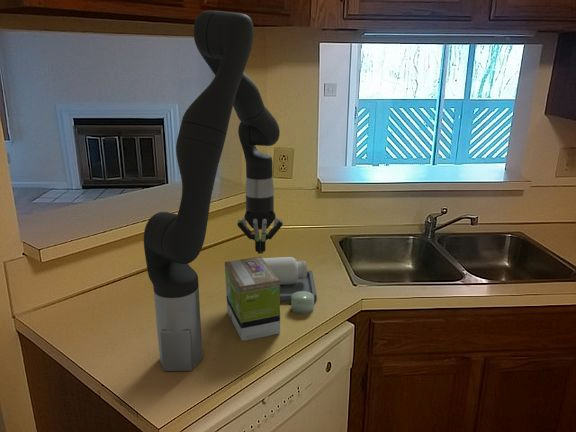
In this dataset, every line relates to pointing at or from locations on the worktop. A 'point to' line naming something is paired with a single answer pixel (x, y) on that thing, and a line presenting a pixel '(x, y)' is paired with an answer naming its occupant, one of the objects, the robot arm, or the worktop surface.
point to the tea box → (253, 298)
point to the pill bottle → (287, 269)
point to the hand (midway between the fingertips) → (260, 252)
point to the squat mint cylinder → (302, 302)
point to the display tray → (298, 288)
